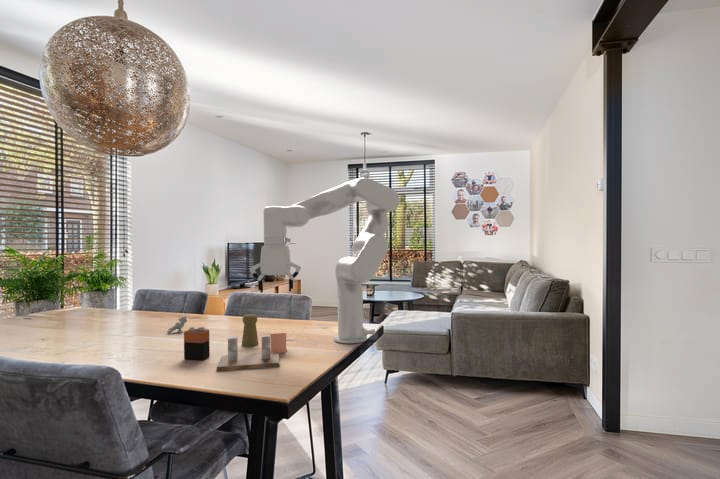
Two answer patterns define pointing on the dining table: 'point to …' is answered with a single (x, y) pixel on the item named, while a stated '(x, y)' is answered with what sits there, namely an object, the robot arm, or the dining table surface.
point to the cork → (250, 331)
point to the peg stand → (248, 357)
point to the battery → (196, 344)
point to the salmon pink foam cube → (278, 341)
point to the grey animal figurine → (178, 325)
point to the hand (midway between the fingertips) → (276, 291)
